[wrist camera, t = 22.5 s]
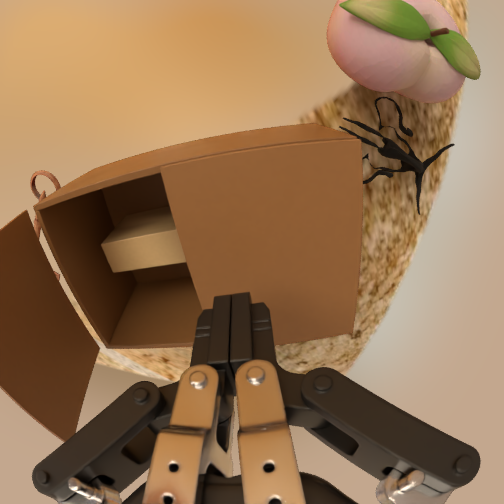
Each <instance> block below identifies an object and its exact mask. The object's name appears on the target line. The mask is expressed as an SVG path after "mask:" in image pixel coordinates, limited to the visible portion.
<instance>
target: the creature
mask: <svg viewBox="0 0 504 504" xmlns="http://www.w3.org/2000/svg"><path fill="white" fill-rule="evenodd" d="M381 98H387V99H389V100H391V101H393V102H394V103H395V106H396V108H397V111H398V113H399V128H400V130H401V131H402V132H403V133H404V134H406V135H408V136H410V137H412V136H413V132H412V131H411V130H410V129H409V128H407V130H406V128H405V127H404V126H403V124H402V119H403V117H402V113H401V110H400V108H399V106H398V105H397V103H396V102H395V101H394V100H393V99H391V98H388V97H379V98H377V99H376V100H375V107H376V109H377V112H378V116H379V120H380V127H379V130H380V129H382V128H383V127H384V126H382V125H381V119H380V113H379V110H378V108H377V105H376V104H377V101H378V100H380V99H381ZM343 119H344V120H347V121H349V122H351V123H354V124H356V125H358V126H359V127H361V128H363V129H364V130H366V131H368V132H371V133H373V134H375V135H378V136H380V137H383V136H382V135H381V134H380V133H379V132H377V131H376V130H374V129H372V128H370V127H368V126H366V125H365V124H363V123H360V122H358V121H352V120H349V119H347V118H343ZM385 127H386V126H385ZM388 127H390V126H388ZM339 128H341V129H343V130H345V131H347V132H348V133H349V134H350V135H353V136H356V137H357V139H360V140H361V142H363V143H366V144H368V145H371V146H374V147H376V148H378V152H379V153H380V154H381V155H382V156H385V157H388V158H393V159H398V160H401V165H402V166H401V168H400V169H398V170H392V169H389V168H385V167H379V168H374V167H373V166H372V165H371V164H370V165H371V166H372V167H373V168H374V169H382V170H378V171H377V172H376V173H374V174H373V175H372V176H371V177H370V178H369V179H368V180H365V181H363V184H366V183H369V182H371V181H372V180H373V179H374V178H375V177H376V176H378V175H386V176H387V177H389V178H391V177H393V174H392V173H390V172H406V171H413V172H415V175H416V178H415V183H416V187H417V195H416V200H417V209H418V214H419V215H420V211H419V197H420V193H421V182H422V177H423V174H424V172H425V170H426V169H427V167H428V166H429V165H430V164H431V163H432V162H433V161H434V160H436V159H437V158H438V157H439V156H440V155H441V153H442V152H443V151H445V150H446V149H448V148H450V147H451V146H454V144H450V145H448V146H446V147H444V148H442V149H440V150H439V151H438V152H437V153H436V154H435V155H434V156H432V157H430V158H428V159H426V160H425V161H424V162H423V163H422V162H421V161H420V160H419V159H418V158H417V157H416V156H415V154H414V151H413V150H412V149H411V147H410V146H409V144H408V143H407V141H406V140H404V139H403V138H401V137H400V136H399V135H398V134H397V132H396V130H395V132H396V135H397V137H398V139H400V140H401V141H403V142H404V143H405V144H406V145H407V146H408V148H409V154H407V153H405V152H404V151H403V150H402V149H401V148H400V147H399V146H398V145H397V144H396V143H395V142H393V141H392V140H391V139H388V138H386V137H383V139H382V141H383V142H384V144H385V145H384V147H383V148H381V147H378V146H377V145H376V144H375V143H373V142H371V141H369V140H368V139H366V138H363V137H360V136H359V135H357V134H355V133H354V132H352V131H350V130H348V129H346V128H343V127H341V126H339ZM392 128H393V127H392ZM394 129H395V128H394ZM364 158H367V159H368V154H367V155H366V156H365V157H363V158H362V160H363V159H364ZM368 160H369V159H368ZM387 171H389V172H387Z"/></svg>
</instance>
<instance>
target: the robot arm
mask: <svg viewBox="0 0 504 504" xmlns="http://www.w3.org/2000/svg"><path fill="white" fill-rule="evenodd" d="M234 396H237V406H238V417H239V431H238V435H237V437H238V448H239V459H240V468H241V475H238V476H234V477H233V462H232V457H231V450H232V439H233V428H234V417H235V412H234ZM289 425H292V426H299V427H304V428H305V429H306V430H307V431H308V432H310V433H311V434H312V435H314V436H315V437H317V438H318V439H319V440H320V441H322V442H323V443H324V444H326V445H327V446H329V447H330V448H331V449H333V450H334V451H336V452H337V453H338V454H340V455H341V456H343V457H344V458H346V459H347V460H349V461H350V462H352V463H353V464H355V465H356V466H358V467H359V468H361V469H362V470H364V471H366V472H367V473H369V474H371V475H372V476H374V477H375V478H377V479H379V480H380V482H379V484H378V486H377V488H376V497H377V499H378V501H379V502H380V503H381V504H444V503H445V502H446V500H447V499H448V497H449V496H450V494H451V493H452V492H453V491H454V490H455V489H457V488H459V487H462V486H464V485H466V484H468V483H469V482H470V481H471V480H473V478H474V477H475V476H476V474H477V473H478V470H479V468H480V456H479V453H478V452H477V450H476V449H475V448H474V447H472V446H470V445H468V444H466V443H464V442H462V441H459V440H458V439H456V438H453V437H452V436H450V435H448V434H446V433H444V432H442V431H440V430H438V429H436V428H434V427H432V426H430V425H429V424H427V423H425V422H423V421H421V420H419V419H418V418H416V417H414V416H412V415H410V414H408V413H407V412H405V411H403V410H401V409H399V408H398V407H396V406H394V405H393V404H390V403H389V402H387V401H386V400H384V399H382V398H380V397H379V396H377V395H375V394H373V393H372V392H370V391H369V390H367V389H365V388H364V387H362V386H360V385H359V384H357V383H355V382H354V381H352V380H350V379H349V378H347V377H346V376H344V375H343V374H341V373H339V372H338V371H336V370H334V369H331V368H327V367H320V368H316V369H313V370H311V371H309V372H308V373H307V374H306V375H305V374H296V373H291V372H288V371H286V370H284V369H282V368H281V367H280V366H279V365H278V363H277V361H276V353H275V344H274V336H273V329H272V322H271V316H270V310H269V308H268V307H267V306H266V304H265V303H264V302H260V303H252V299H251V294H250V292H243V293H235V294H228V295H220V296H214V301H213V309H204V310H203V311H202V313H201V314H200V316H199V317H198V320H197V326H196V332H195V338H194V344H193V350H192V357H191V364H190V368H188V369H187V370H186V371H184V373H183V374H182V376H181V378H180V380H179V381H177V382H175V383H172V384H169V385H166V386H163V387H159V388H158V387H157V386H156V385H155V384H154V383H152V382H148V381H141V382H138V383H135V384H134V385H132V386H131V387H130V388H129V389H127V390H126V391H125V392H124V393H123V394H122V395H121V396H119V397H118V398H117V399H116V400H115V401H114V402H112V403H111V404H110V405H109V406H108V407H106V408H105V409H104V410H103V411H102V412H101V413H100V414H98V415H97V416H96V417H95V418H93V419H92V420H91V421H90V422H89V423H88V424H86V425H85V426H84V427H83V428H82V429H80V430H79V431H78V432H77V433H76V434H74V435H73V436H72V437H71V438H69V439H68V440H67V441H66V442H65V443H63V444H62V445H61V446H60V447H59V448H57V449H56V450H55V451H54V452H52V453H51V454H50V455H49V456H47V457H46V458H45V459H44V460H42V461H41V462H40V463H39V464H37V465H36V466H35V468H34V470H33V473H32V480H33V484H34V486H35V488H36V489H37V490H38V491H39V492H40V493H42V494H44V495H47V496H49V497H51V498H53V499H55V500H56V501H57V502H58V503H59V504H358V503H356V502H355V501H354V500H352V499H351V498H349V497H348V496H346V495H345V494H344V493H342V492H341V491H340V490H339V489H337V488H336V487H335V486H333V485H332V484H331V483H329V482H328V481H326V480H324V479H322V478H320V477H318V476H315V475H312V474H308V473H304V472H299V470H298V465H297V460H296V456H295V451H294V446H293V442H292V437H291V433H290V428H289ZM148 468H149V473H148V478H147V481H146V482H145V483H144V484H142V485H141V486H140V487H139V488H138V489H137V490H135V491H134V492H133V493H132V494H131V495H130V496H129V497H128V498H127V499H126V500H124V501H123V502H122V499H121V498H120V495H119V493H121V492H122V491H123V490H124V489H125V488H127V487H128V486H129V485H130V484H131V483H132V482H134V481H135V480H136V479H137V478H138V477H139V476H141V475H142V474H143V473H144V472H145V471H146V470H147V469H148Z"/></svg>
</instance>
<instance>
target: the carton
mask: <svg viewBox="0 0 504 504" xmlns="http://www.w3.org/2000/svg"><path fill="white" fill-rule="evenodd" d="M346 139H357V137H356V136H353V135H350V134H347V133H344V132H341V131H338V130H335V129H331V128H328V127H325V126H321V125H318V124H314V123H311V124H299V125H289V126H280V127H271V128H263V129H256V130H250V131H243V132H237V133H231V134H225V135H220V136H215V137H209V138H204V139H199V140H195V141H190V142H186V143H181V144H177V145H173V146H169V147H165V148H161V149H157V150H153V151H150V152H146V153H142V154H139V155H135V156H132V157H129V158H125V159H122V160H119V161H116V162H113V163H110V164H107V165H104V166H101V167H98V168H95V169H93V170H91V171H89V172H88V173H86V174H84V175H82V176H80V177H79V178H77V179H75V180H74V181H72V182H70V183H68V184H67V185H65V186H64V187H62V188H60V189H59V190H57V191H55V192H54V193H52V194H51V195H49V196H48V197H46V198H44V199H43V200H41V201H40V202H38V203H37V204H36V205H34V206H33V207H34V210H35V212H36V216H37V218H38V221H39V223H40V226H41V228H42V230H43V233H44V236H45V238H46V240H47V243H48V245H49V247H50V249H51V252H52V254H53V256H54V258H55V260H56V262H57V264H58V266H59V268H60V270H61V272H62V274H63V276H64V278H65V280H66V282H67V284H68V286H69V288H70V290H71V291H72V293H73V295H74V297H75V299H76V300H77V302H78V304H79V305H80V307H81V309H82V311H83V312H84V314H85V316H86V317H87V319H88V320H89V322H90V324H91V325H92V327H93V328H94V330H95V331H96V333H97V334H98V336H99V337H100V339H101V340H102V342H103V343H104V345H105V346H106V348H107V349H141V348H173V347H191V346H193V344H194V338H195V332H196V326H197V320H198V317H199V316H200V314H201V313H202V311H203V310H202V307H201V304H200V301H199V298H198V295H197V292H196V289H195V287H194V284H193V281H192V277H191V274H190V271H189V268H188V265H187V262H183V263H176V264H170V265H163V266H156V267H149V268H143V269H136V270H129V271H122V272H116V273H113V271H112V269H111V266H110V264H109V262H108V260H107V257H106V255H105V253H104V250H103V248H102V246H101V244H102V243H103V241H104V240H105V239H106V238H107V237H108V236H109V234H110V233H111V232H112V231H113V230H114V229H115V228H116V227H117V225H118V224H119V223H120V222H121V221H122V220H123V219H124V218H125V217H126V216H127V215H131V214H136V213H140V212H144V211H149V210H153V209H158V208H163V207H168V206H170V205H169V201H168V198H167V194H166V190H165V186H164V183H163V179H162V175H161V171H160V168H161V167H162V166H166V165H170V164H175V163H179V162H184V161H188V160H193V159H198V158H203V157H208V156H213V155H218V154H224V153H230V152H236V151H242V150H248V149H255V148H262V147H270V146H278V145H286V144H295V143H305V142H316V141H329V140H346ZM99 350H100V347H99V346H98V345H97V343H96V342H95V340H94V339H93V337H92V336H91V334H90V333H89V331H88V330H87V328H86V327H85V325H84V324H83V322H82V320H81V319H80V317H79V316H78V314H77V312H76V311H75V309H74V307H73V306H72V304H71V302H70V301H69V299H68V297H67V295H66V294H65V292H64V290H63V288H62V286H61V284H60V283H59V281H58V279H57V277H56V275H55V273H54V271H53V269H52V267H51V265H50V263H49V261H48V259H47V257H46V255H45V252H44V250H43V248H42V246H41V244H40V241H39V239H38V237H37V234H36V232H35V229H34V227H33V224H32V222H31V220H30V217H29V214H28V211H27V210H25V211H23V212H22V213H21V214H19V215H18V216H17V217H15V218H14V219H13V220H12V221H10V222H9V223H8V224H7V225H5V226H4V227H3V228H1V229H0V388H1V389H2V390H3V391H4V392H5V393H6V394H7V395H8V396H9V397H10V398H11V399H12V400H13V401H15V403H17V404H18V405H19V406H20V407H21V408H22V409H23V410H24V411H25V412H27V413H28V414H29V415H30V416H31V417H32V418H33V419H35V420H36V421H37V422H38V423H39V424H41V425H42V426H43V427H45V428H46V429H47V430H48V431H50V432H51V433H52V434H54V435H55V436H56V437H58V438H59V439H61V440H62V441H63V442H66V441H67V440H68V439H69V438H71V437H72V436H73V435H74V434H75V433H76V428H77V424H78V420H79V416H80V412H81V408H82V404H83V401H84V397H85V394H86V390H87V387H88V384H89V380H90V377H91V374H92V371H93V368H94V364H95V361H96V358H97V355H98V353H99Z"/></svg>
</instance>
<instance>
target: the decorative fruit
mask: <svg viewBox="0 0 504 504" xmlns="http://www.w3.org/2000/svg"><path fill="white" fill-rule="evenodd" d="M327 44H328V47H329V50H330V53H331V55H332V57H333V59H334V60H335V62H336V63H337V65H338V66H339V67H340V68H341V69H342V70H343V71H344V72H345V73H346V74H347V75H348V76H349V77H350V78H352V79H353V80H354V81H356V82H357V83H359V84H360V85H362V86H364V87H366V88H368V89H371V90H374V91H378V92H391V91H395V92H396V93H398V94H400V95H402V96H405V97H407V98H410V99H413V100H416V101H420V102H425V103H438V102H442V101H446V100H447V99H449V98H451V97H452V96H454V95H455V94H456V93H457V92H458V91H459V89H460V88H461V86H462V85H463V82H464V80H465V77H467V78H470V79H473V80H477V79H479V77H480V65H479V61H478V59H477V56H476V54H475V52H474V50H473V49H472V47H471V45H470V44H469V43H468V42H467V40H466V39H465V38H464V37H463V36H462V35H461V34H460V32H459V29H458V27H457V25H456V23H455V22H454V20H453V18H452V17H451V15H450V14H449V13H448V12H447V10H446V9H445V8H444V7H443V6H442V5H441V4H440V3H439V2H438V1H436V0H338V1H337V3H336V5H335V7H334V9H333V12H332V14H331V17H330V20H329V24H328V28H327Z"/></svg>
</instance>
